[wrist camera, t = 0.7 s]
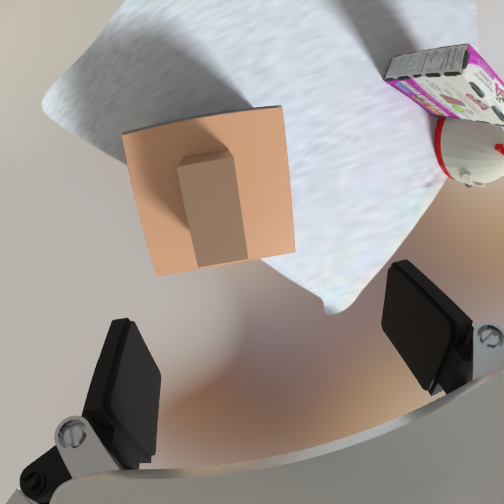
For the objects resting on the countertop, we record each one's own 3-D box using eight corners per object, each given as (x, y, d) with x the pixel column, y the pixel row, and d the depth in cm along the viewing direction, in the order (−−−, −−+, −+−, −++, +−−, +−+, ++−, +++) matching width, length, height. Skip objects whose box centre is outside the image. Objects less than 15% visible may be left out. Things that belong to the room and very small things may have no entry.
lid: (129, 133, 22) (99, 140, 15) (275, 108, 23) (301, 105, 16) (160, 263, 28) (148, 309, 21) (288, 240, 29) (312, 280, 22)
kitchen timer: (468, 190, 43) (526, 218, 30) (424, 163, 40) (492, 188, 27) (487, 126, 38) (546, 142, 25) (445, 90, 35) (513, 96, 21)
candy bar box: (440, 92, 35) (517, 99, 20) (432, 116, 37) (511, 131, 22) (390, 54, 32) (469, 41, 17) (381, 80, 34) (462, 75, 19)
